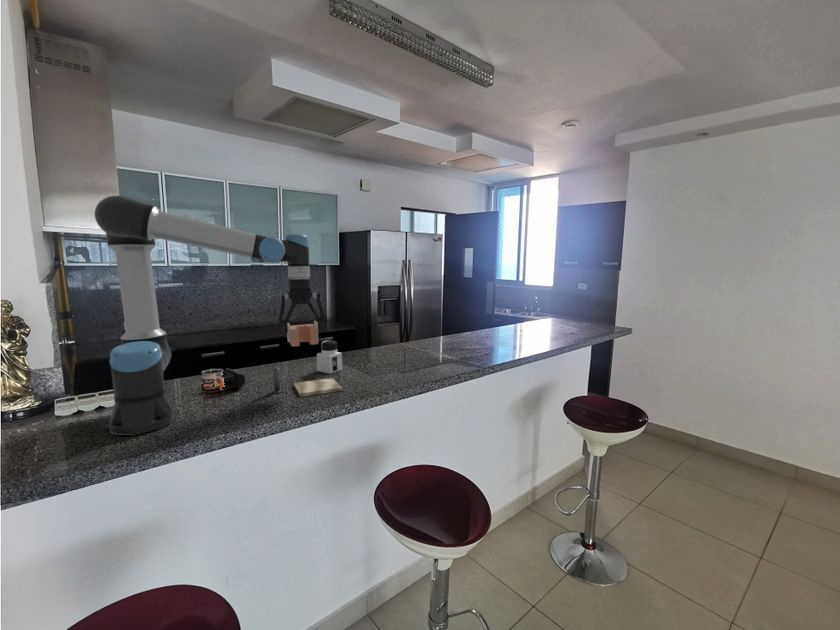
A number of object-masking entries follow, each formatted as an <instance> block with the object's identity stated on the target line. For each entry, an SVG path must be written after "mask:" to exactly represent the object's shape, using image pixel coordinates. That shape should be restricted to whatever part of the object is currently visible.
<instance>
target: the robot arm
mask: <svg viewBox="0 0 840 630" xmlns="http://www.w3.org/2000/svg"><path fill="white" fill-rule="evenodd" d="M94 219H95V222H96V224H97V225H98V227H99V228H100V229H101V230H102V231H103V232H104V233H105V235H106V242H107V243H106V244H107V247H108V248H109V249H111V250H112V251H113V252H114V253H115V259H116V260H115V261H116V267H117V268H116V269H117V275H118V282H119V290H120V297H121V303H122V304H121V305H122V312H123V317H124V319H123V320H124V324H125V325H124V326H125V332H124V334H123V335H121V336H120V342H121V343H120V345H117V346H116V347H113V349H112V350H111V351H110V352H109V366H110V370H111V380H112V388H113V389H112V390H113V398H114V406H113V410H112V412H111V416H110V419H109V423H108V428H109V429H110V430H109V432H110V431H111V432H113V433H116V434H122V435H123V434H138V433H144V434H146V433H145V432H149V431H152V430H156V429H158V428H161V427H163V426H165V425H167V424H169V423H170V422H172V421H173V419H174V420H175V415H174V414H175V412H174V410H173V408H172V407H171V404H170V402H169V400H168V399H167V396H166V393H165V384H164V383H165V379H164V371H165V370H166V369H167V367H168V366H169V364H170V363H171V359H172V352H171V348H170V346H169V344H168V339H167V338H168V337H167V332H166V331H165V330H163V329H162V328H161V327H160V320H159V311H158V303H157V294H156V287H155V286H156V285H155V279H154V272H153V263H152V255H151V252H152V250H154V248H156V239H159V240H163V241H168V242H173V243H178V244H181V245H186V246H192V247H198V248H201V249H206V250H207V249H208V250H212V251H217V252H221V253H226V254H229V255H235V256H240V257H245V258H250V261H251V262H252V263H260V264H261V263H273V264H274V263H285V262H287V275H288V276H287V277H288V278H289V280H288V293H287V294H280V296H279V297H280V305H279V312H278V316H277V317H278V318H277V322H278V323H279V324H283V333H284V334H286V335H287V338H286V339H287V342H288V343H289V342H291V339H290V326H291V324H290V323H289V320H290V318H291V316H292V314H293V311H294V309H295V308H296V306H299V305H306V306H307V307H308V309H309V311H310V312H311V314H312V316H313V317H314V319H315V320H313V325H315V326H316V327H317V328H318V331H319V330H321V321H323V320H325V318H326V316H325V312H324V308H323V305H322V302H321V293H319V292H313V291H312V287H311V286H312V283H311V279H310V278H311V269H310V246H309V238H308V236H307V235H306V234H301V233H300V234H299V233H296V234H293V233H292V234H291V233H290V234H286V236H285V239H283V240H282V239H281V240H280V239H279V238H277V237H273V236H264V235H261V234H256V233H253V232H250V231H249V232H248V231H244V230H240V229H236V228H232V227H229V226H228V227H227V226H223V225H220V224H215V223H212V222H206V221H202V220H199V219H195V218H190V217H186V216H182V215H178V214H173V213H169V212H165V211H162V210H160V209H159V208H158V207H157V206H155V205H151V204H148V203H145V202H141V201H138V200H135V199H134V198H130V197H128V196H125V195H110V196H107V197H105V198H103V199H101V200H100V201H99V202H98V203H97V204H96V206H95V210H94ZM312 297H313V299H315V303H316V306H317V310H318V312H317V311H316V310H315V308H314V306H313V304H312V303H311V301H310V300H311V299H312ZM288 298H289V300H290V301H291V302H290V304H289V306H288V309H287V312H286V314H285V308H286V301H287V300H288ZM318 313H319V314H318ZM284 314H285V316H284ZM283 318H284V319H283ZM173 422H174V421H173ZM173 422H172V423H173ZM169 425H170V424H169ZM163 428H164V427H163ZM161 429H162V428H161ZM158 430H159V429H158ZM156 431H157V430H156ZM152 432H153V431H152ZM149 433H150V432H149Z"/></svg>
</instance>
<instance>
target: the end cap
mask: <svg viewBox="0 0 840 630" xmlns="http://www.w3.org/2000/svg"><path fill="white" fill-rule="evenodd" d="M222 373H223V375H222V376H220V377H221V378H222V379H223V378H224V383H225V384H224V385H225V387H222V389H224V390H222V391H223V392H222V391H221V392H222V393H223V394H230V393H235V392H238V391H239V390H241V389H242V388H243V387H244V385H245V384H246V377H245V375H244V374H242V373H241V372H238V371H236V370H234V369H231V368H225V370H222Z"/></svg>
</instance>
